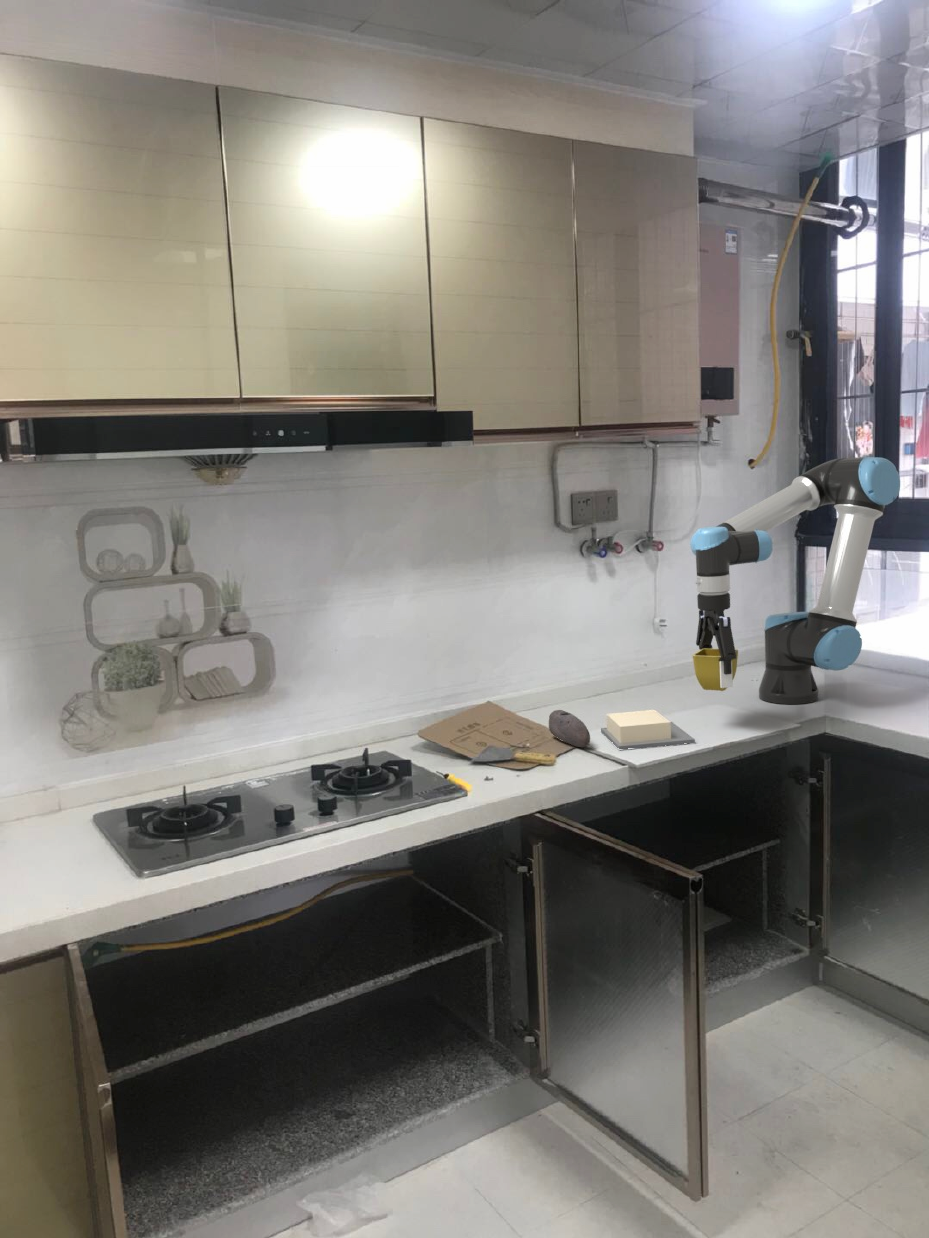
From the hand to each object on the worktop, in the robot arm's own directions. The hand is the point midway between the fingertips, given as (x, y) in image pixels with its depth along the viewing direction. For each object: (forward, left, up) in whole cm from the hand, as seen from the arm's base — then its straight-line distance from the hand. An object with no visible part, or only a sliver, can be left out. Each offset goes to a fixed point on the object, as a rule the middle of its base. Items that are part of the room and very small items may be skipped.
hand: (716, 681), depth 229 cm
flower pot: (0, 0, -2) cm, 2 cm away
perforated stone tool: (+36, +1, -12) cm, 38 cm away
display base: (+18, +2, -12) cm, 22 cm away
